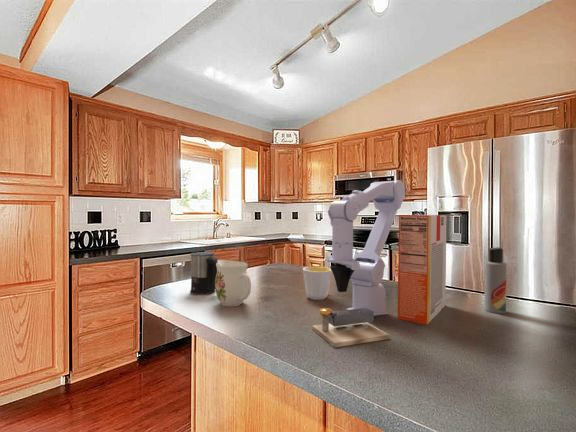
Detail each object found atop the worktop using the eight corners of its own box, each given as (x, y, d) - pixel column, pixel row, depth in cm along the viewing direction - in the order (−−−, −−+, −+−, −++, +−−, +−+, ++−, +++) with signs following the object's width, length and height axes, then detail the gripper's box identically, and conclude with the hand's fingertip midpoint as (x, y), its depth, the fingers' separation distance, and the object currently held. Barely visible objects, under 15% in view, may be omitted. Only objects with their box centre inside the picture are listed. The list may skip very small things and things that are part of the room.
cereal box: (419, 301, 112) (421, 214, 112) (445, 305, 108) (446, 215, 107) (397, 318, 94) (399, 215, 94) (427, 324, 89) (428, 215, 89)
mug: (322, 303, 109) (322, 272, 108) (297, 298, 115) (297, 269, 114) (340, 295, 120) (341, 267, 120) (316, 291, 126) (317, 264, 126)
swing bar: (323, 327, 79) (323, 312, 79) (317, 323, 82) (317, 308, 82) (373, 321, 84) (373, 306, 84) (365, 317, 87) (365, 303, 87)
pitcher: (234, 314, 97) (235, 268, 97) (204, 301, 110) (204, 261, 110) (263, 306, 104) (263, 264, 104) (232, 296, 117) (232, 258, 117)
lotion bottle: (509, 314, 99) (510, 248, 98) (488, 313, 100) (489, 248, 100) (500, 308, 104) (501, 246, 104) (481, 307, 105) (482, 246, 105)
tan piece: (361, 322, 90) (361, 304, 90) (389, 338, 79) (389, 318, 79) (312, 329, 85) (312, 310, 85) (334, 347, 74) (334, 325, 74)
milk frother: (184, 293, 120) (185, 253, 120) (207, 284, 135) (207, 249, 135) (219, 297, 116) (219, 255, 116) (238, 287, 131) (238, 250, 131)
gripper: (318, 241, 96) (317, 286, 97) (343, 246, 83) (342, 299, 83) (339, 240, 99) (338, 285, 99) (366, 245, 85) (366, 296, 85)
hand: (342, 291), depth 91 cm, fingers closed
